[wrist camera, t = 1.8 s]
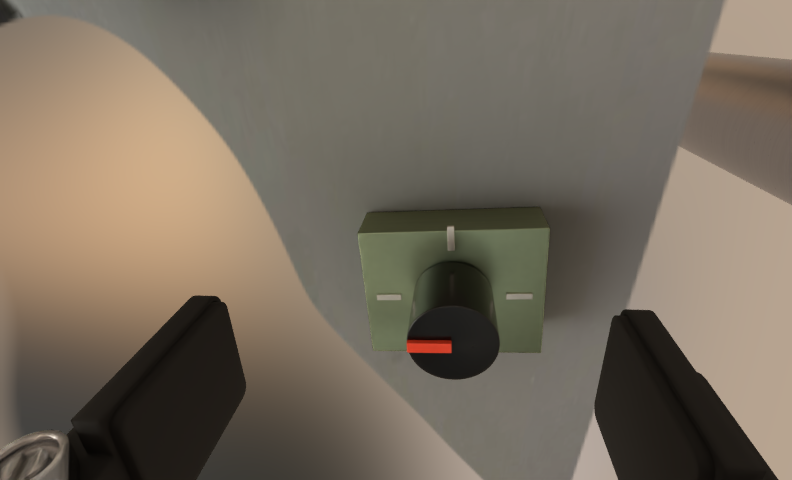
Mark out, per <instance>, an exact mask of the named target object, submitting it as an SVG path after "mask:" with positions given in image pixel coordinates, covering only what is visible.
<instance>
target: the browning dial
mask: <svg viewBox="0 0 792 480" xmlns="http://www.w3.org/2000/svg"><path fill="white" fill-rule="evenodd" d="M499 349H500V338H499V331H498V324H497V317H496V311H495V304H494V297H493V291H492V287H491V284H490V282H489V281H488V279H487V278H486V277H485V275H484V274H483V273H481V272H480V271H479V270H477V269H476V268H474V267H472V266H470V265H467V264H464V263H459V262H446V263H441V264H438V265H435V266H433V267H431V268H429V269H428V270H426V271H425V272H424V273H423V274H422V275H421V276H420V277H419V279H418V280H417V282H416V285H415V288H414V293H413V300H412V306H411V313H410V319H409V326H408V332H407V352H408V353H409V354H410V355H411V357H412V359H413V360H414V362H415V363H416V364H417V365H418V366H419V367H420V368H421V369H423V370H424V371H426V372H428V373H429V374H431V375H434V376H437V377H440V378H444V379H453V380H456V379H466V378H470V377H473V376H476V375H478V374H480V373H482V372H483V371H485V370H486V369H488V368H489V367H490V366H491V365H492V364H493V362H494V361H495V359H496V357H497V355H498V353H499Z"/></svg>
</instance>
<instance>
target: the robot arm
mask: <svg viewBox="0 0 792 480" xmlns="http://www.w3.org/2000/svg"><path fill="white" fill-rule="evenodd" d="M245 389H246V382H245V377H244V373H243V369H242V365H241V361H240V357H239V353H238V349H237V345H236V341H235V337H234V333H233V329H232V325H231V321H230V317H229V313H228V309H227V306H226V304H225V303H224V302H221V300H220V299H219V298H218V297H216V296H193V297H191V298H190V299H189V300H188V301H187V302H186V303H185V304H184V305H183V306H182V307H181V308H180V309H179V310H178V311H177V312H176V313H175V314H174V315H173V316H172V317H171V318H170V319H169V320H168V322H167V323H165V324H164V325H163V326H162V327H161V329H160V330H159V331H158V332H157V333H156V334H155V335H154V336H153V337H152V338H151V339H150V340H149V341H148V342H147V343H146V344H145V345H144V346H143V347H142V348H141V349H140V350H139V351H138V352H137V353H136V354H135V355H134V356H133V357H132V358H131V359H130V360H129V361H128V362H127V363H126V364H125V365H124V366H123V367H122V368H121V370H119V371H118V372H117V373H116V375H115V376H114V377H113V378H112V379H111V380H110V381H109V382H108V383H107V384H106V385H105V386H104V387H103V388H102V389H101V390H100V391H99V392H98V393H97V394H96V395H95V396H94V397H93V398H92V399H91V400H90V401H89V402H88V403H87V404H86V405H85V406H84V407H83V408H82V409H81V410H80V411H79V412H78V413H77V414H76V416H75V417H74V418H72V420H71V422H72V424H73V426H74V428H73V429H72V430H71V431H70V432H69V433H68V434H67V435H65V434H64V433H63V432H61V431H56V430H46V431H39V432H35V433H32V434H29V435H26V436H24V437H22V438H19V439H17V440H15V441H13V442H11V443H9V444H8V445H6V446H5V447H3V448H2V449H0V480H196V479H197V477H198V476H199V474H200V472H201V470H202V469H203V467H204V465H205V463H206V462H207V460H208V458H209V456H210V455H211V452H212V451H213V449H214V447H215V446H216V444H217V442H218V440H219V439H220V437H221V435H222V433H223V432H224V430H225V428H226V427H227V425H228V423H229V421H230V420H231V418H232V416H233V414H234V413H235V411H236V409H237V407H238V406H239V404H240V402H241V400H242V399H243V396H244V394H245ZM595 416H596V420H597V422H598V425H599V428H600V431H601V434H602V436H603V439H604V442H605V444H606V447H607V450H608V452H609V455H610V458H611V461H612V464H613V466H614V469H615V472H616V475H617V477H618V480H778V479H777V477H776V476H775V475H774V473H773V472H772V471H771V469H770V468H769V466H768V465H767V463H766V462H765V461H764V459H763V458H762V456H761V455H760V454H759V452H758V451H757V449H756V448H755V447H754V445H753V444H752V442H751V441H750V440H749V438H748V437H747V435H746V434H745V433H744V431H743V430H742V429H741V427H740V426H739V424H738V423H737V422H736V420H735V419H734V417H733V416H732V415H731V413H730V412H729V410H728V409H727V408H726V406H725V405H724V404H723V402H722V401H721V399H720V398H719V397H718V395H717V394H716V393H715V391H714V390H713V388H712V387H711V385H710V384H709V383H708V381H707V380H706V379H705V378H704V377H703V376H702V375H701V374H700V373H698V372H696V371H695V369H694V368H693V367H692V365H691V364H690V362H689V361H688V360H687V358H686V357H685V355H684V354H683V352H682V351H681V350H680V348H679V347H678V345H677V344H676V343H675V341H674V340H673V338H672V337H671V335H670V334H669V333H668V331H667V330H666V328H665V327H664V326H663V324H662V323H661V321H660V320H659V319H658V317H657V316H656V315H655V313H654V312H653V311H650V310H626V309H625V310H623V311H622V312H621V315H620V316H614V317H613V319H612V322H611V327H610V332H609V337H608V341H607V346H606V351H605V356H604V360H603V365H602V370H601V375H600V380H599V384H598V389H597V394H596V399H595Z"/></svg>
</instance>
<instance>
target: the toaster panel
mask: <svg viewBox="0 0 792 480" xmlns="http://www.w3.org/2000/svg"><path fill="white" fill-rule="evenodd" d="M549 236H550V227H549V225H548V223H547V221H546V219H545V217H544V215H543V213H542V211H541V209H540V207H521V208H491V209H462V210H432V211H403V212H373V213H367V214H366V217H365V219H364V221H363V223H362V225H361V227H360V229H359V231H358V242H359V249H360V257H361V264H362V272H363V279H364V287H365V294H366V302H367V309H368V317H369V324H370V332H371V339H372V347H373V351H407V332H408V326H409V319H410V313H411V306H412V300H413V293H414V288H415V285H416V282H417V280H418V279H419V277H420V276H421V275H422V274H423V273H424V272H425V271H426V270H428V269H429V268H431V267H433V266H435V265H438V264H441V263H446V262H459V263H464V264H467V265H470V266H472V267H474V268H476V269H477V270H479V271H480V272H481V273H483V274H484V275H485V277H486V278H487V279H488V281H489V282H490V284H491V287H492V291H493V297H494V304H495V311H496V317H497V324H498V331H499V338H500V349H499V352H515V353H541V346H542V333H543V319H544V305H545V291H546V277H547V263H548V249H549Z"/></svg>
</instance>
